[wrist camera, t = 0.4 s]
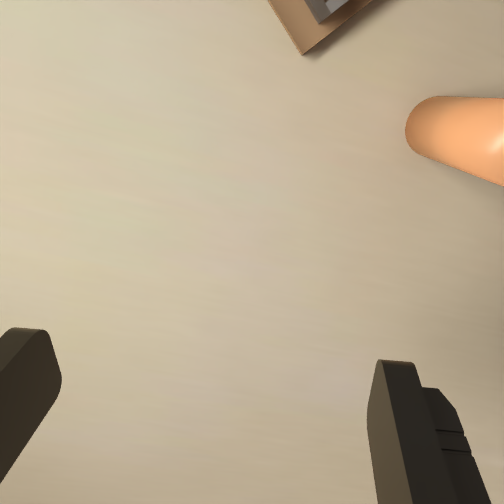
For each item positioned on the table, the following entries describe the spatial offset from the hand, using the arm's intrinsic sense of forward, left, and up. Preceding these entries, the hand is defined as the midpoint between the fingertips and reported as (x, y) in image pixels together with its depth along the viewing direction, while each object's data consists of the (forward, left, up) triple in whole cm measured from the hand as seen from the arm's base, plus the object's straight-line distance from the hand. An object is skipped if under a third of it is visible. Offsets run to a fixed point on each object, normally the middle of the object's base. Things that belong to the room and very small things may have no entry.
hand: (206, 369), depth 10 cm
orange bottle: (-1, +17, -27) cm, 32 cm away
